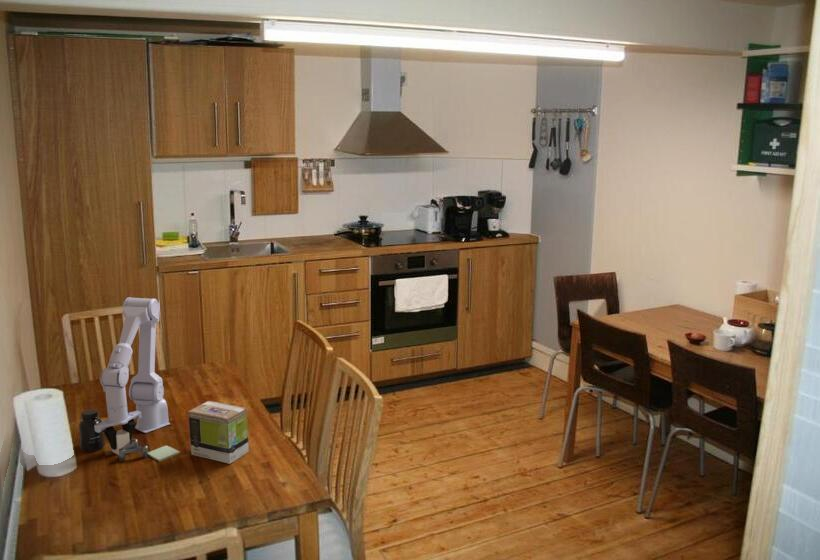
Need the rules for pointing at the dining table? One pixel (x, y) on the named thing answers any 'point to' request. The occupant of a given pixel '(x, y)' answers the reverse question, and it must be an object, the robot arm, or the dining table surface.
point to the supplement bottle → (90, 431)
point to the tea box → (218, 431)
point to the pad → (163, 453)
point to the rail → (133, 449)
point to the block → (121, 440)
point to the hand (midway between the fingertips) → (120, 446)
